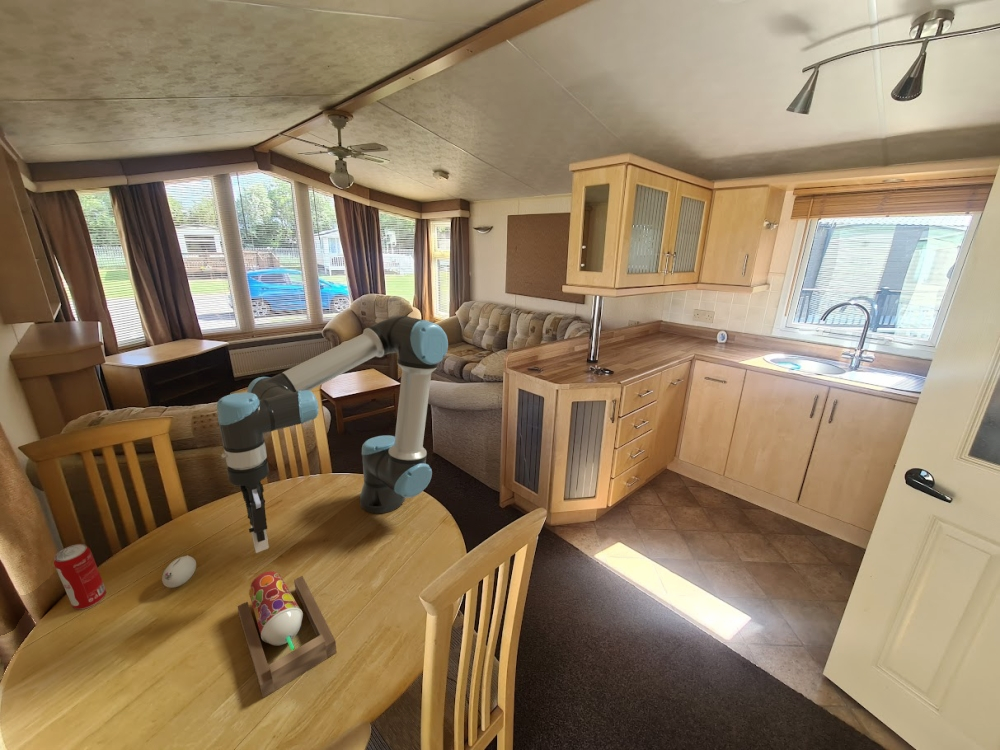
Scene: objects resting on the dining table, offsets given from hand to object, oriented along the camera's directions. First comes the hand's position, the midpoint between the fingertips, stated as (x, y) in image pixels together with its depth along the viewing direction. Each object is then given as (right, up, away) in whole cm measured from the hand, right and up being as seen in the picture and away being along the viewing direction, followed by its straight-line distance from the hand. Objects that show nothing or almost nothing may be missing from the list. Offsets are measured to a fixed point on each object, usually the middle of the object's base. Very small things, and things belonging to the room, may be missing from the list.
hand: (261, 548), depth 94 cm
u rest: (+9, -17, -6) cm, 20 cm away
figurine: (-24, -11, +6) cm, 27 cm away
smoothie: (0, -8, 0) cm, 8 cm away
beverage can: (-41, -13, 0) cm, 43 cm away
